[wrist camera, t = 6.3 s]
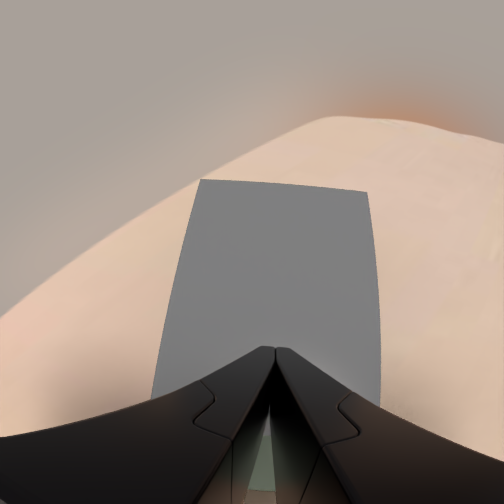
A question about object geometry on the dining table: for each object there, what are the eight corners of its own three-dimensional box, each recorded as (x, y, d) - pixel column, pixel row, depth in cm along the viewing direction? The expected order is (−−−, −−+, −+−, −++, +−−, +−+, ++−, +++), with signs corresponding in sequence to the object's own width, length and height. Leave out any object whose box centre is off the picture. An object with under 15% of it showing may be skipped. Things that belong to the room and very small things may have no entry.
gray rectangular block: (377, 435, 10) (366, 192, 15) (148, 416, 10) (200, 179, 16) (354, 432, 12) (353, 226, 18) (170, 416, 13) (208, 214, 19)
